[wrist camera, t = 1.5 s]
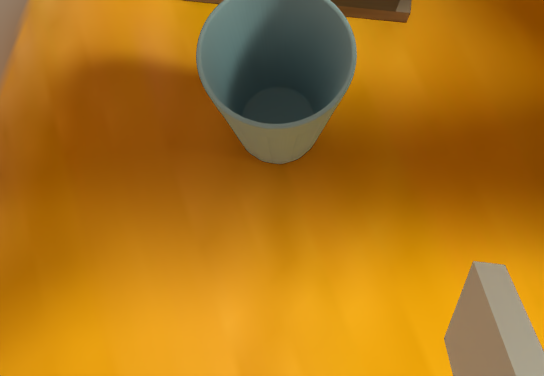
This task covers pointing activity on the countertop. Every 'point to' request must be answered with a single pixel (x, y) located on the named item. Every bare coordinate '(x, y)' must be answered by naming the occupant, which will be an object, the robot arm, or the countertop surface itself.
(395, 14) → the dock
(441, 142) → the countertop surface
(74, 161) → the countertop surface
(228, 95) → the cup
